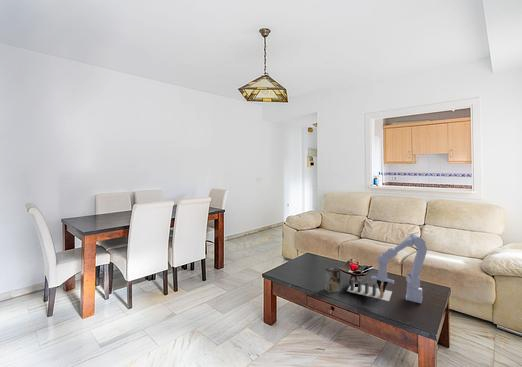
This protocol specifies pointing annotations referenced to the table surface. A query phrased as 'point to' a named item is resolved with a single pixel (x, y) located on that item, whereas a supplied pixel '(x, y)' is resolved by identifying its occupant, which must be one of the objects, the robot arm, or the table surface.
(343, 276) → the table surface
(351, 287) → the domino
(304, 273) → the table surface
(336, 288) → the coffee box
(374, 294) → the domino
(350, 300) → the table surface
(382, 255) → the robot arm
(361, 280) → the domino
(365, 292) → the domino
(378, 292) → the grey mat
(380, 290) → the domino
